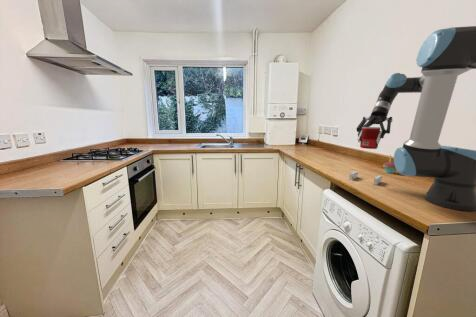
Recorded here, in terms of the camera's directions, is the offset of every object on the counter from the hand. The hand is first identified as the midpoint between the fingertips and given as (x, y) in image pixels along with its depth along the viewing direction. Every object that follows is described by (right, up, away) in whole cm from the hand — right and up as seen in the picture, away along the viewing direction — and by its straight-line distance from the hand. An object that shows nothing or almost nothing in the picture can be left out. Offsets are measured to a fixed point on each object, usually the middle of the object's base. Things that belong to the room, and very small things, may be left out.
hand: (367, 141), depth 106 cm
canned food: (+2, -3, +3) cm, 5 cm away
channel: (+4, -21, +9) cm, 23 cm away
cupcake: (+32, -18, +28) cm, 46 cm away
